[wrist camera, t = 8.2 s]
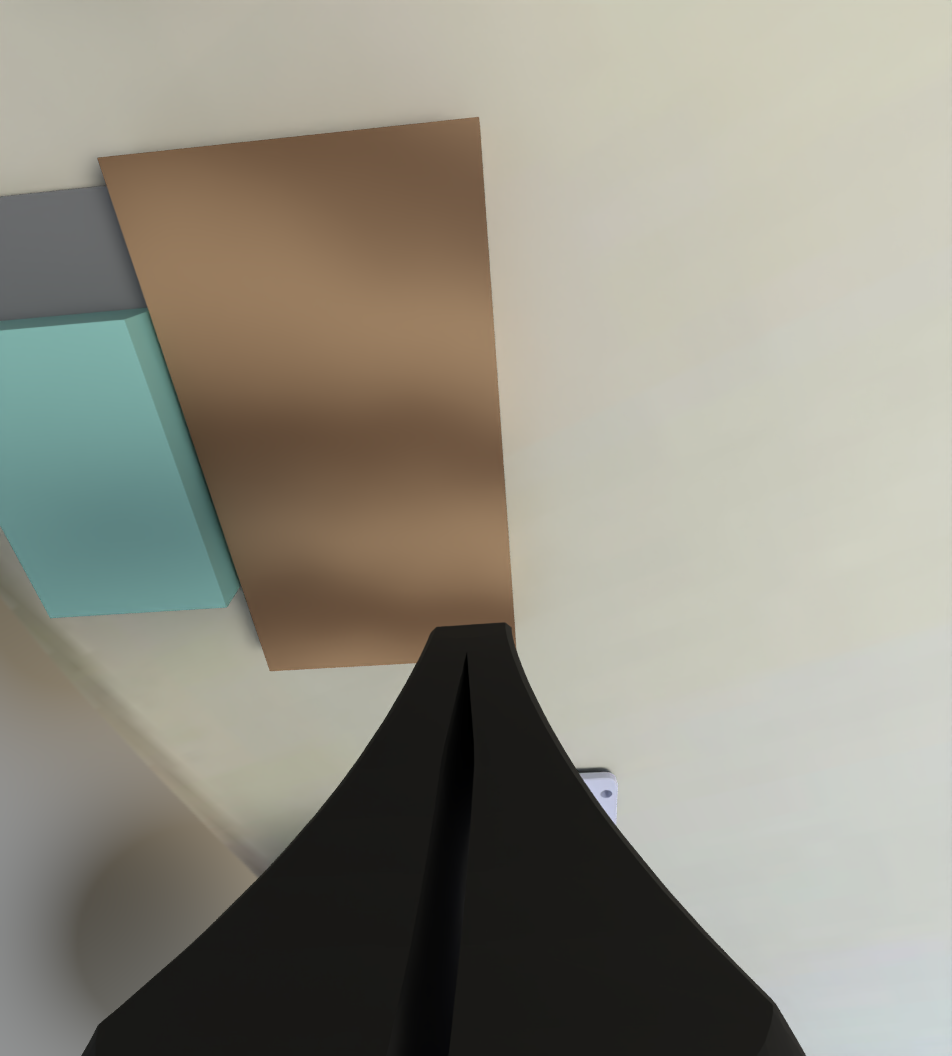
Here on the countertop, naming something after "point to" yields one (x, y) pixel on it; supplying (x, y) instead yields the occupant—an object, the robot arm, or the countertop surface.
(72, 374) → the teal rectangular block
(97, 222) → the mat
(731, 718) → the countertop surface
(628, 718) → the countertop surface
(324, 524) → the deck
